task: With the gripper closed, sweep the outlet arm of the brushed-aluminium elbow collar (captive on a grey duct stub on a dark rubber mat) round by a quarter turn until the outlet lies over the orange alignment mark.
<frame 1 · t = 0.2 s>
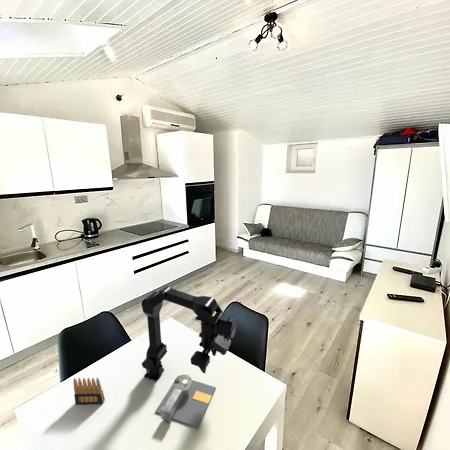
hand: (209, 363, 97), 14 cm above the table, fingers open, 9 cm apart
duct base: (183, 392, 101), on the table
elbow: (177, 395, 96), point 3 cm above the table, hinge at -90.0°
ammunition clip: (90, 402, 97), on the table
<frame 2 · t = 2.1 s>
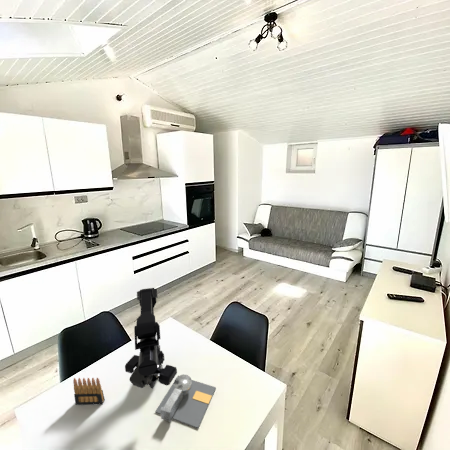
hand: (152, 387, 91), 11 cm above the table, fingers closed
nothing on the table moved.
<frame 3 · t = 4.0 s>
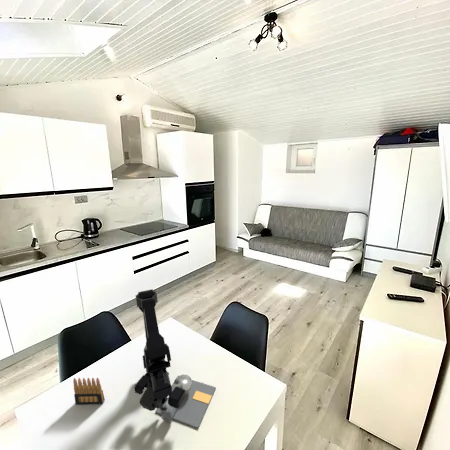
hand: (161, 408, 92), 3 cm above the table, fingers closed
elbow: (177, 395, 96), point 3 cm above the table, hinge at -89.0°, touching gripper
everything else where it was.
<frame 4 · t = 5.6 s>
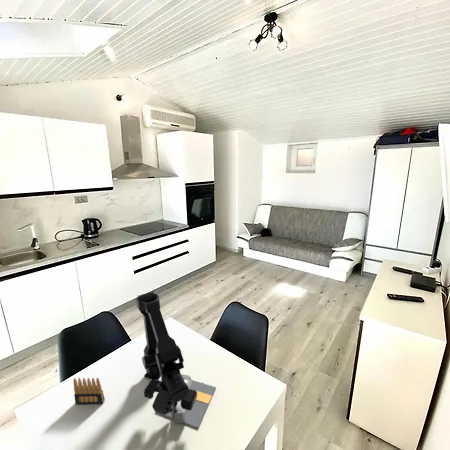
hand: (171, 411, 91), 3 cm above the table, fingers closed
elbow: (181, 396, 96), point 3 cm above the table, hinge at -66.3°, touching gripper
everything else where it was.
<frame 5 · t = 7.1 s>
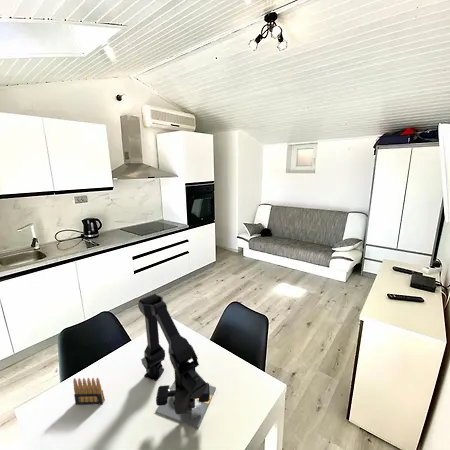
hand: (184, 411, 91), 3 cm above the table, fingers closed
elbow: (187, 394, 96), point 3 cm above the table, hinge at -38.6°, touching gripper
everything else where it was.
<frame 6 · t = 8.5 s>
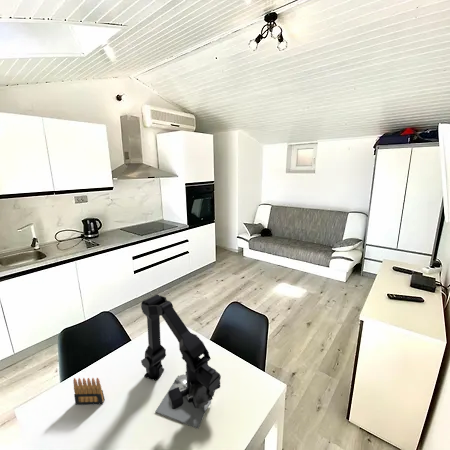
hand: (195, 407, 92), 3 cm above the table, fingers closed
elbow: (191, 391, 98), point 3 cm above the table, hinge at -15.3°, touching gripper
everything else where it was.
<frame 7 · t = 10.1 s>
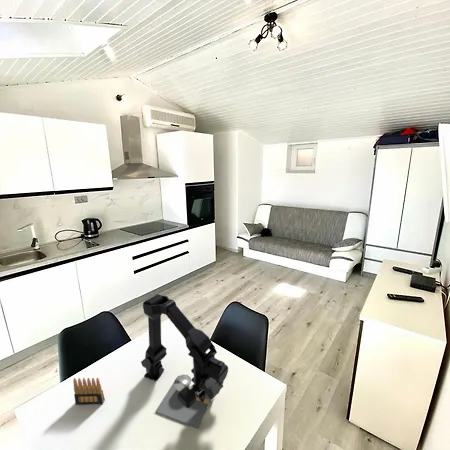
hand: (202, 401, 94), 3 cm above the table, fingers closed
elbow: (193, 388, 99), point 3 cm above the table, hinge at 2.9°, touching gripper
everything else where it was.
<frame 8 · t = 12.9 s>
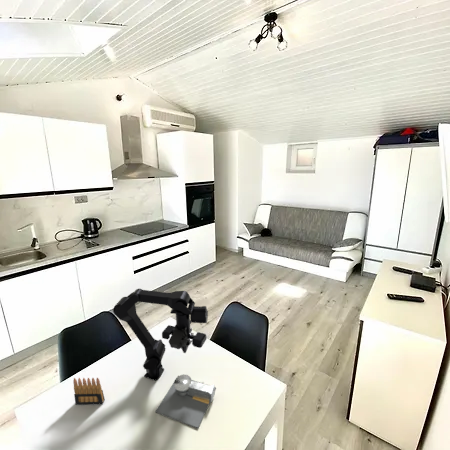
hand: (185, 352, 106), 12 cm above the table, fingers closed
elbow: (193, 388, 99), point 3 cm above the table, hinge at 3.0°
everything else where it was.
at the end: elbow at +3° (first picture: -90°); the gripper is holding nothing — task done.
